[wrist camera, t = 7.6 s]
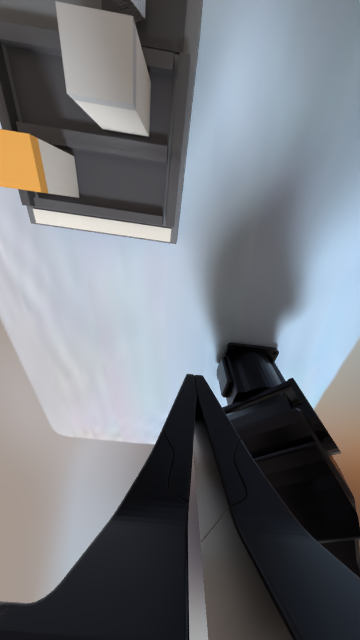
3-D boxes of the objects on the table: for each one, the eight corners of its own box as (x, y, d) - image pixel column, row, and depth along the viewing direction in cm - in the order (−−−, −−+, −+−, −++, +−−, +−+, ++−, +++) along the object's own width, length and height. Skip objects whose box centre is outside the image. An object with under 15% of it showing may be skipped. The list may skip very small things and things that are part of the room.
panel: (200, 29, 11) (204, -21, 9) (176, 240, 17) (175, 245, 15) (-3, -9, 11) (-58, -74, 8) (47, 222, 17) (23, 223, 14)
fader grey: (150, 82, 11) (132, 16, 7) (149, 137, 12) (133, 104, 8) (99, 73, 11) (55, 1, 7) (103, 129, 12) (66, 93, 8)
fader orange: (74, 156, 13) (29, 133, 9) (79, 197, 14) (41, 192, 10) (29, 149, 12) (-35, 123, 9) (39, 191, 14) (-14, 184, 10)
